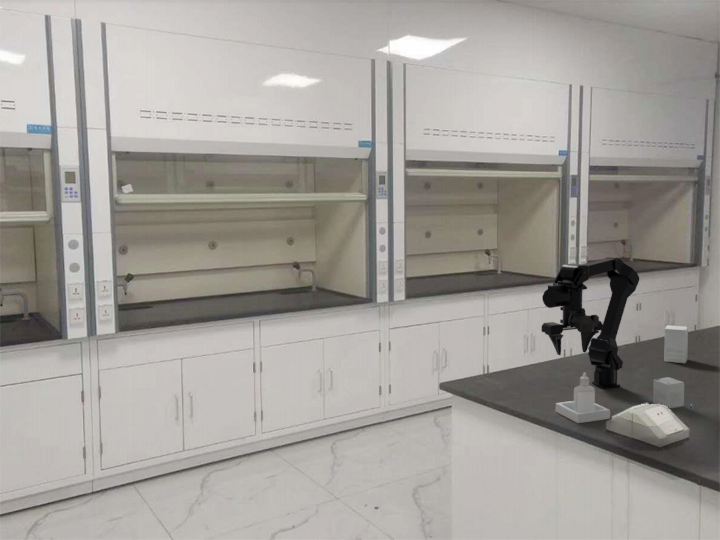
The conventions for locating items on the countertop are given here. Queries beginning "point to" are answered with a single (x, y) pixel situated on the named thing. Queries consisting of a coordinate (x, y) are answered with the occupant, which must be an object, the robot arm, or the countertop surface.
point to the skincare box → (668, 392)
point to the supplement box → (676, 344)
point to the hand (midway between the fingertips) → (571, 353)
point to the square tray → (568, 411)
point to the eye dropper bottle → (584, 396)
